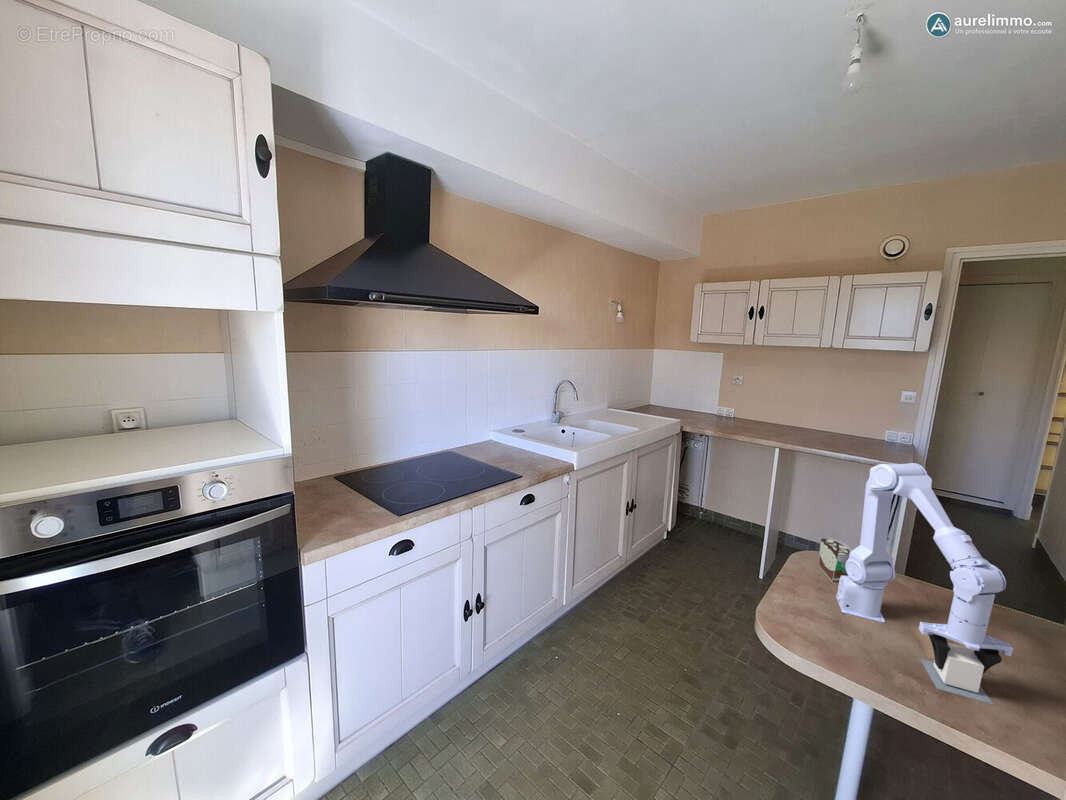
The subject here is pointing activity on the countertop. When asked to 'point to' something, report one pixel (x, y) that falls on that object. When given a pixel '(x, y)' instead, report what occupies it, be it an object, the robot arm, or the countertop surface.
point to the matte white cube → (961, 668)
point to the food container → (833, 557)
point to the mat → (952, 689)
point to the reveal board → (927, 645)
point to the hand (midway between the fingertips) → (956, 670)
